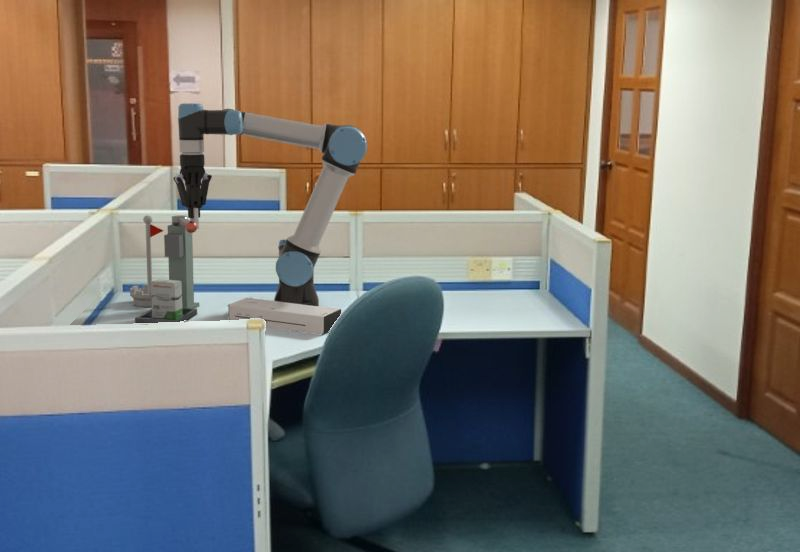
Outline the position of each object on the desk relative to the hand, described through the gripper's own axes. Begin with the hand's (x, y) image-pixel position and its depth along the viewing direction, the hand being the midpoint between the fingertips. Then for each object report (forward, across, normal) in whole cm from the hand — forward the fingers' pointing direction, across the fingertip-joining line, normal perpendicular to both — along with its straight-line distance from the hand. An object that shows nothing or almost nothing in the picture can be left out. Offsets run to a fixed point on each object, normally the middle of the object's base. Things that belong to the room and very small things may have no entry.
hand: (194, 228), depth 293 cm
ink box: (+28, +10, -2) cm, 30 cm away
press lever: (+1, +1, -4) cm, 4 cm away
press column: (+28, 0, -11) cm, 30 cm away
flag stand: (+29, +2, -25) cm, 38 cm away
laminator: (+29, -14, +28) cm, 43 cm away
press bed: (+28, +10, -2) cm, 30 cm away
